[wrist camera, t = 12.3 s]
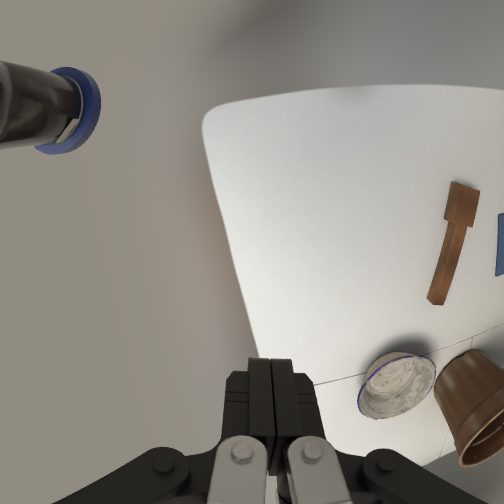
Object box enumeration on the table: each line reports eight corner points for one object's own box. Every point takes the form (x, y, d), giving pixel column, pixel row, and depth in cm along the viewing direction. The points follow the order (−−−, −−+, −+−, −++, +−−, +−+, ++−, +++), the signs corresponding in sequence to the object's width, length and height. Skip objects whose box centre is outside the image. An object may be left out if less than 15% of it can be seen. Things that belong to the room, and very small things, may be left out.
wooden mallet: (442, 299, 40) (448, 305, 38) (421, 298, 40) (427, 304, 38) (472, 188, 35) (480, 191, 33) (451, 182, 35) (459, 184, 33)
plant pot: (506, 340, 43) (553, 389, 28) (467, 404, 49) (500, 457, 33) (450, 336, 42) (502, 400, 27) (409, 409, 48) (440, 474, 32)
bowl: (350, 348, 43) (359, 369, 38) (428, 329, 42) (442, 346, 37) (349, 407, 47) (356, 428, 42) (418, 389, 46) (428, 407, 41)
